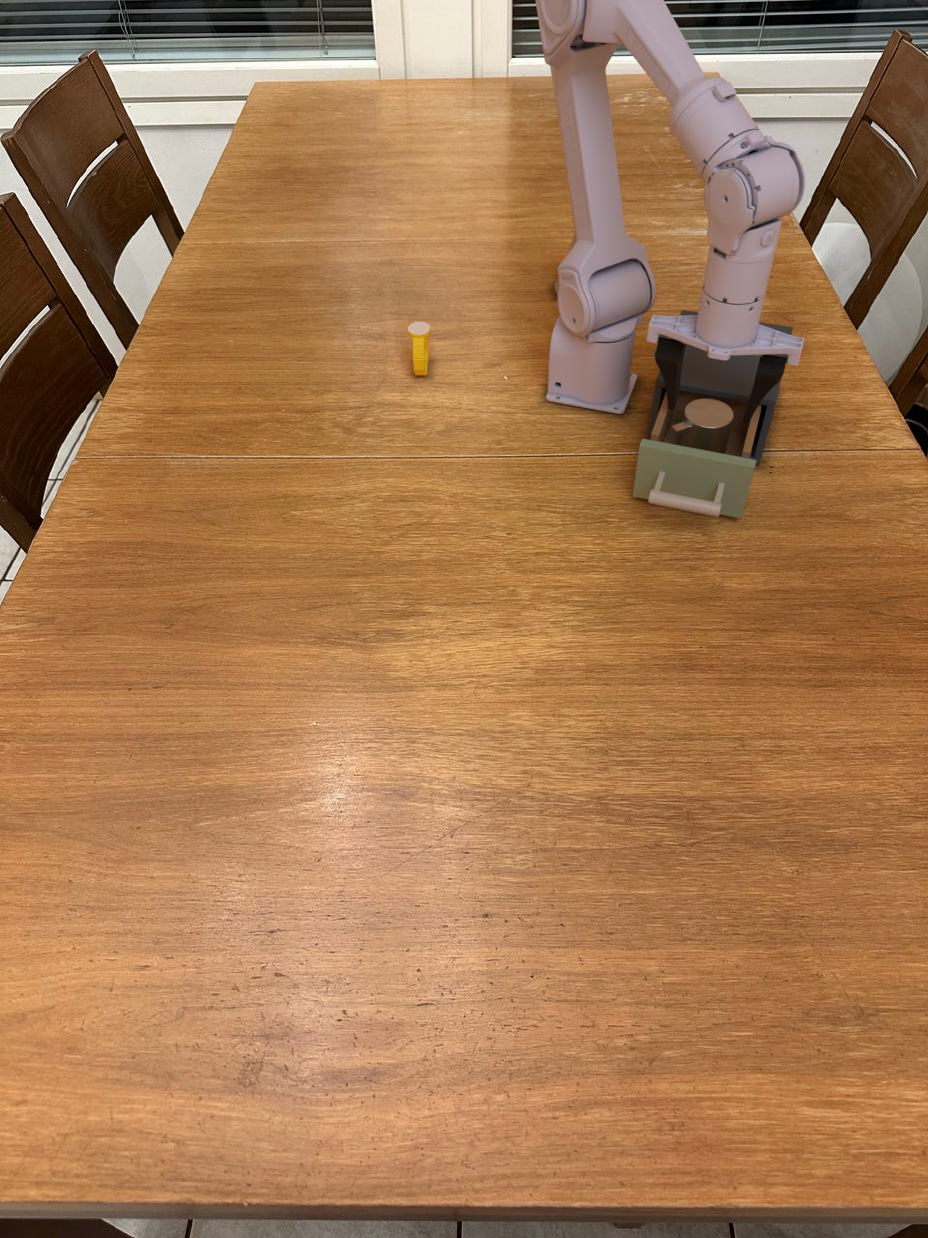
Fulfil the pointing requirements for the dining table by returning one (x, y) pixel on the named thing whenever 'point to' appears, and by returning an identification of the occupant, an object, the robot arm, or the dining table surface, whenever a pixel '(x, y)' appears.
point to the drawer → (697, 464)
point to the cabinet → (722, 384)
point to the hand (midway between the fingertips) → (709, 410)
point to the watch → (420, 346)
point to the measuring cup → (705, 425)
